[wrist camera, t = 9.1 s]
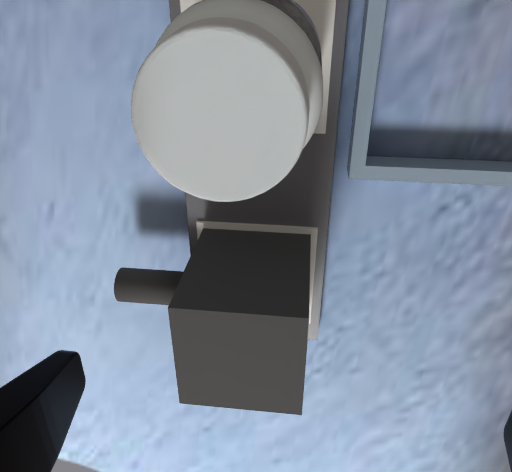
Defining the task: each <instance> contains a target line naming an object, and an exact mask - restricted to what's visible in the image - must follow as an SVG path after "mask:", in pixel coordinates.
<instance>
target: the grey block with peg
mask: <svg viewBox="0 0 512 472" xmlns="http://www.w3.org/2000/svg"><path fill="white" fill-rule="evenodd" d="M310 250H311V234H296V233H278V232H261V231H243V230H226V229H208V228H203V230H202V232H201V234H200V236H199V239H198V241H197V243H196V245H195V248H194V250H193V252H192V254H191V257H190V259H189V261H188V264H187V266H186V268H185V270H184V272H181V271H166V270H151V269H136V268H120V269H119V271H118V272H117V275H116V278H115V283H114V294H115V298H116V300H117V301H121V302H134V303H147V304H161V305H169V307H168V312H169V321H170V329H171V337H172V345H173V353H174V361H175V369H176V377H177V385H178V393H179V401H180V403H182V404H193V405H203V406H214V407H224V408H234V409H245V410H255V411H266V412H276V413H286V414H297V415H302V404H303V391H304V378H305V365H306V352H307V339H308V326H309V299H310Z"/></svg>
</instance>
